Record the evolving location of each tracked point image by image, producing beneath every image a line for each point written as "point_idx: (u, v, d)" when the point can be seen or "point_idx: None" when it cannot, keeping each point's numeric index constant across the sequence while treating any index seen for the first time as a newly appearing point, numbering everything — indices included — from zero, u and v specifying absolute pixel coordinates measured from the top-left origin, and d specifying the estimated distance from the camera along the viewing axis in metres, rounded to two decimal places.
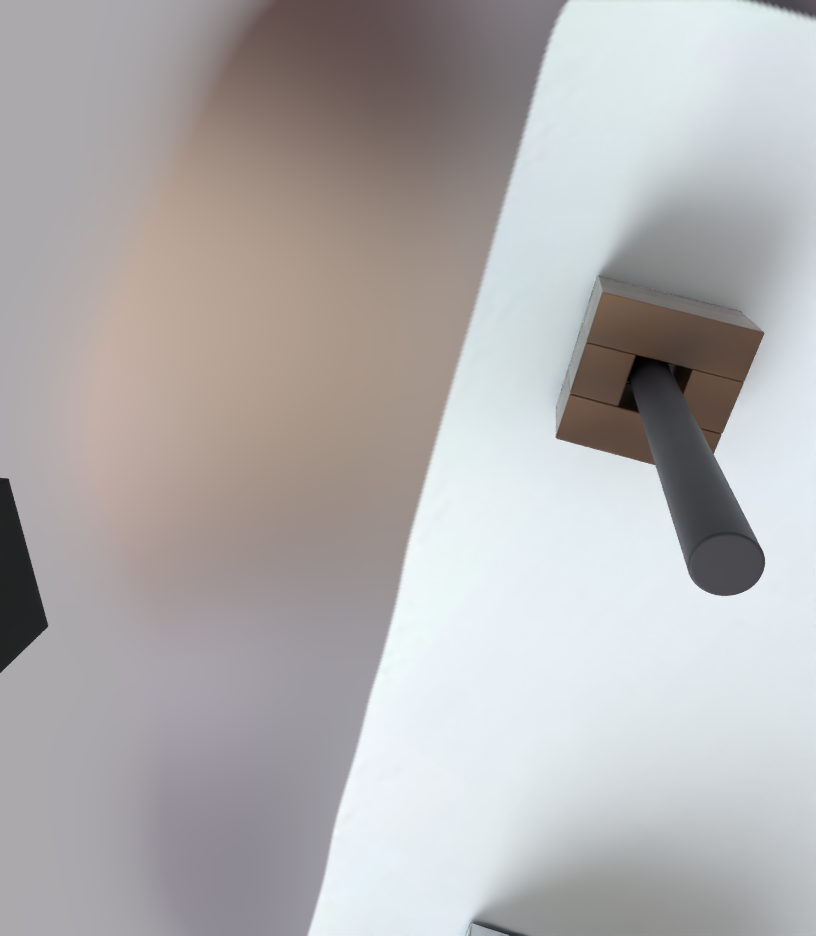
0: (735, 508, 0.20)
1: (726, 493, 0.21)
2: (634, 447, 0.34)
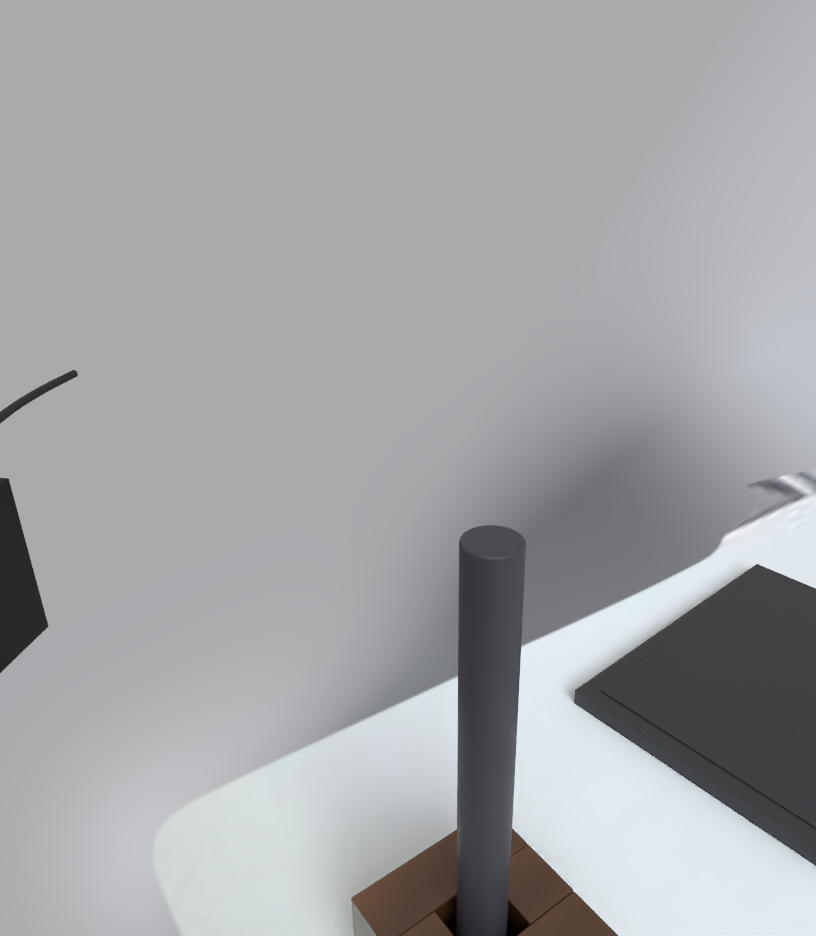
0: None
1: None
2: None
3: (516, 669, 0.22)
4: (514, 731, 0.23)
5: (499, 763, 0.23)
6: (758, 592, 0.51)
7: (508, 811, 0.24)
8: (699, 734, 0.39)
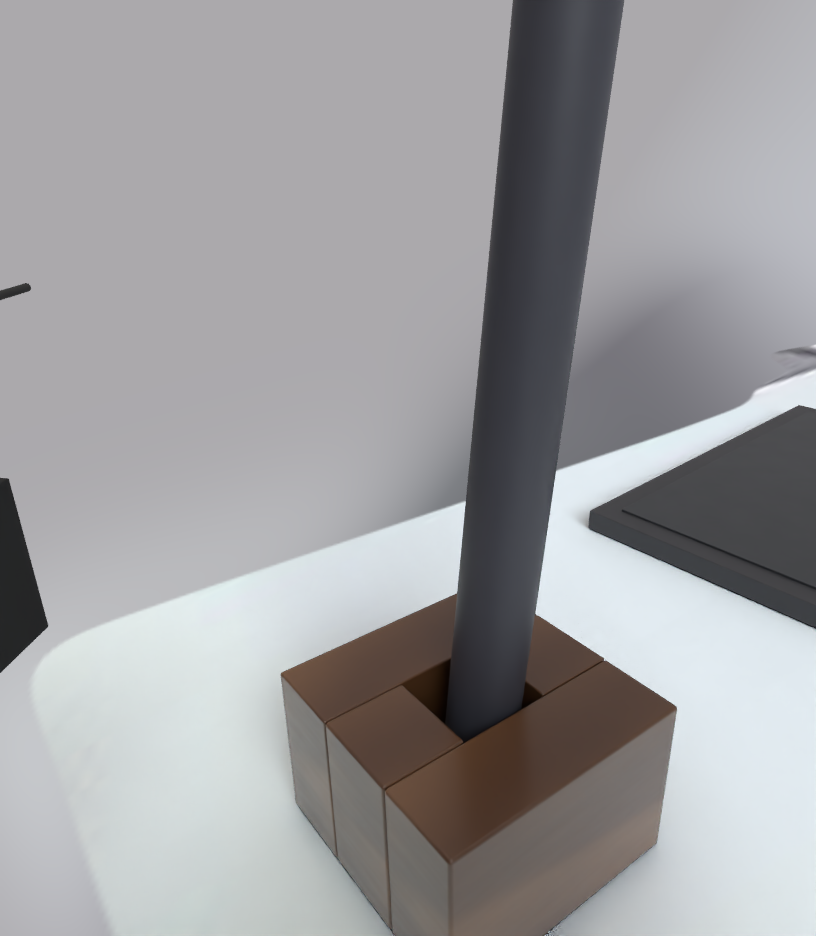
0: None
1: None
2: (559, 758, 0.16)
3: (593, 183, 0.13)
4: (575, 319, 0.14)
5: (547, 368, 0.14)
6: (805, 426, 0.42)
7: (550, 478, 0.15)
8: (751, 545, 0.31)
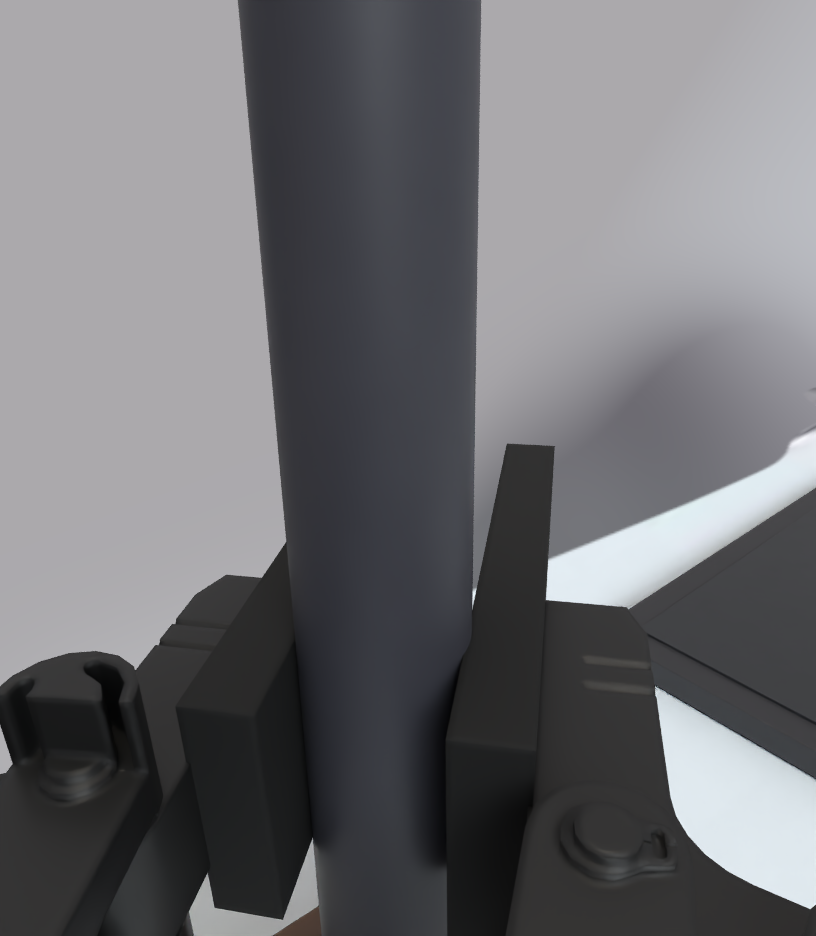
0: None
1: None
2: None
3: (461, 270, 0.06)
4: (463, 539, 0.07)
5: (412, 647, 0.07)
6: None
7: None
8: (814, 694, 0.23)
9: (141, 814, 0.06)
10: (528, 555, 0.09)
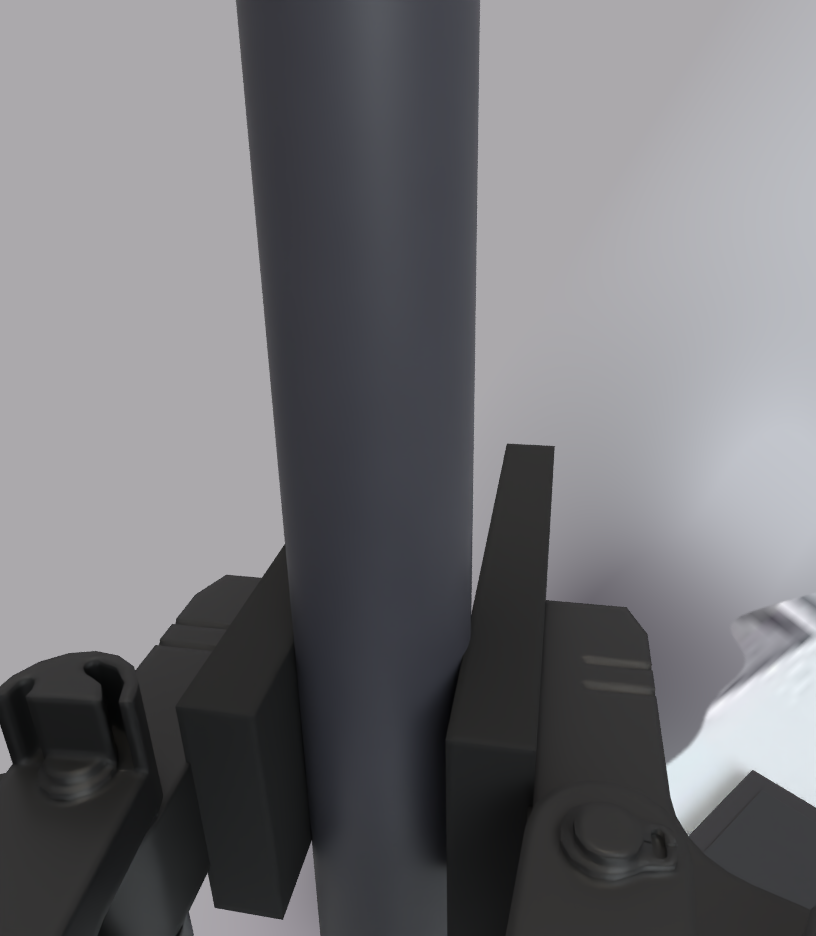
0: None
1: None
2: None
3: (460, 271, 0.06)
4: (462, 540, 0.07)
5: (411, 649, 0.07)
6: (755, 828, 0.36)
7: None
8: None
9: (141, 814, 0.06)
10: (528, 555, 0.09)
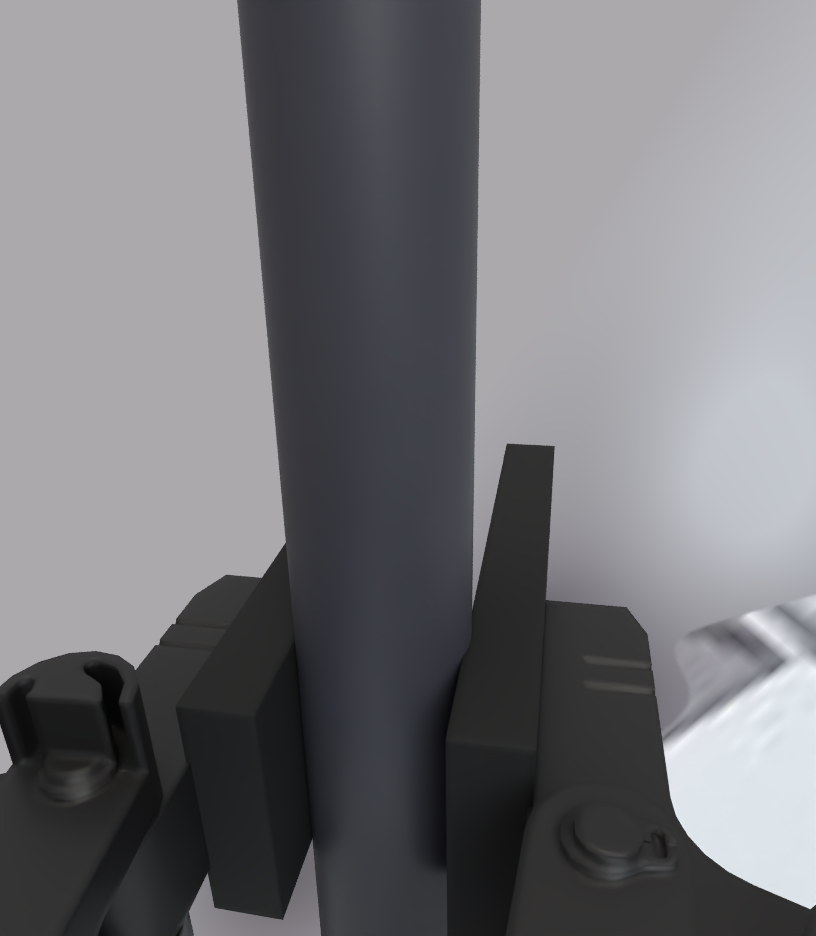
0: None
1: None
2: None
3: (461, 269, 0.06)
4: (462, 539, 0.07)
5: (411, 647, 0.07)
6: None
7: None
8: None
9: (141, 814, 0.06)
10: (528, 556, 0.09)
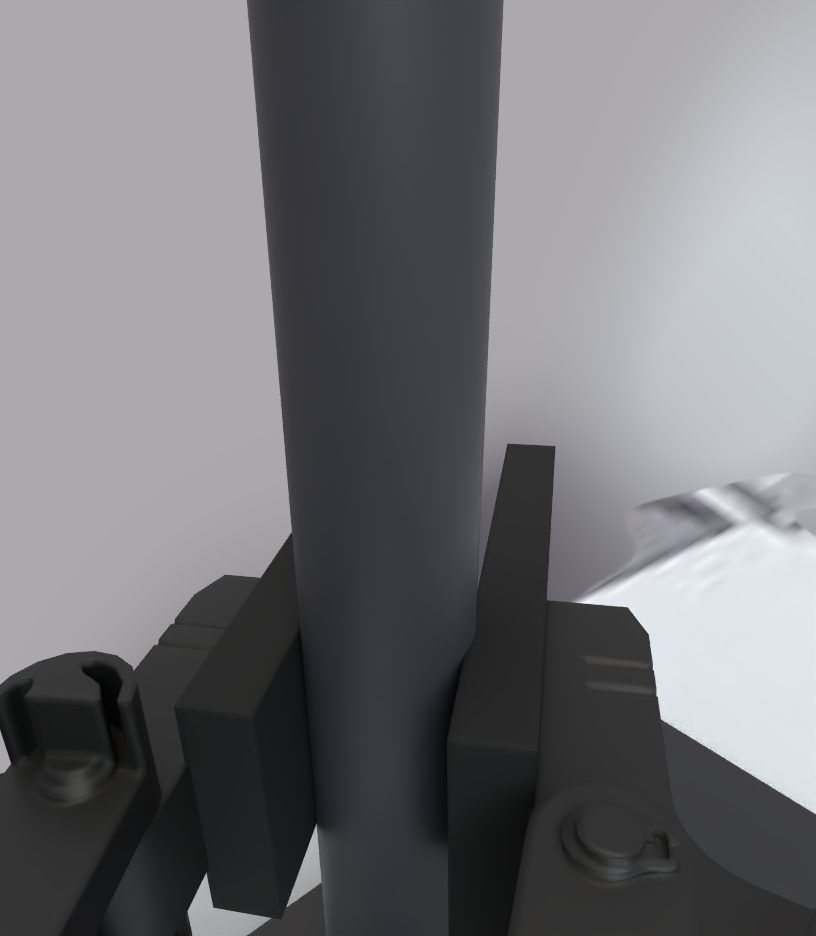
0: None
1: None
2: None
3: (490, 268, 0.06)
4: (479, 522, 0.07)
5: (452, 633, 0.07)
6: None
7: None
8: None
9: (139, 814, 0.06)
10: (530, 556, 0.09)
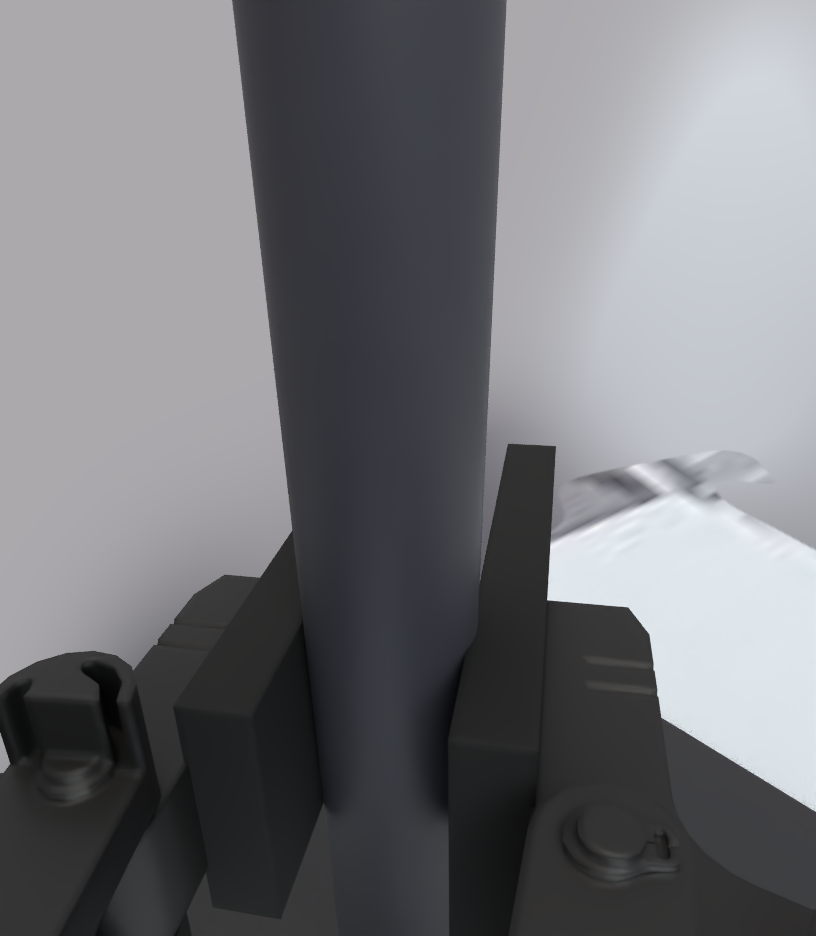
0: None
1: None
2: None
3: None
4: None
5: (476, 613, 0.07)
6: None
7: None
8: None
9: (138, 814, 0.06)
10: (530, 555, 0.09)
